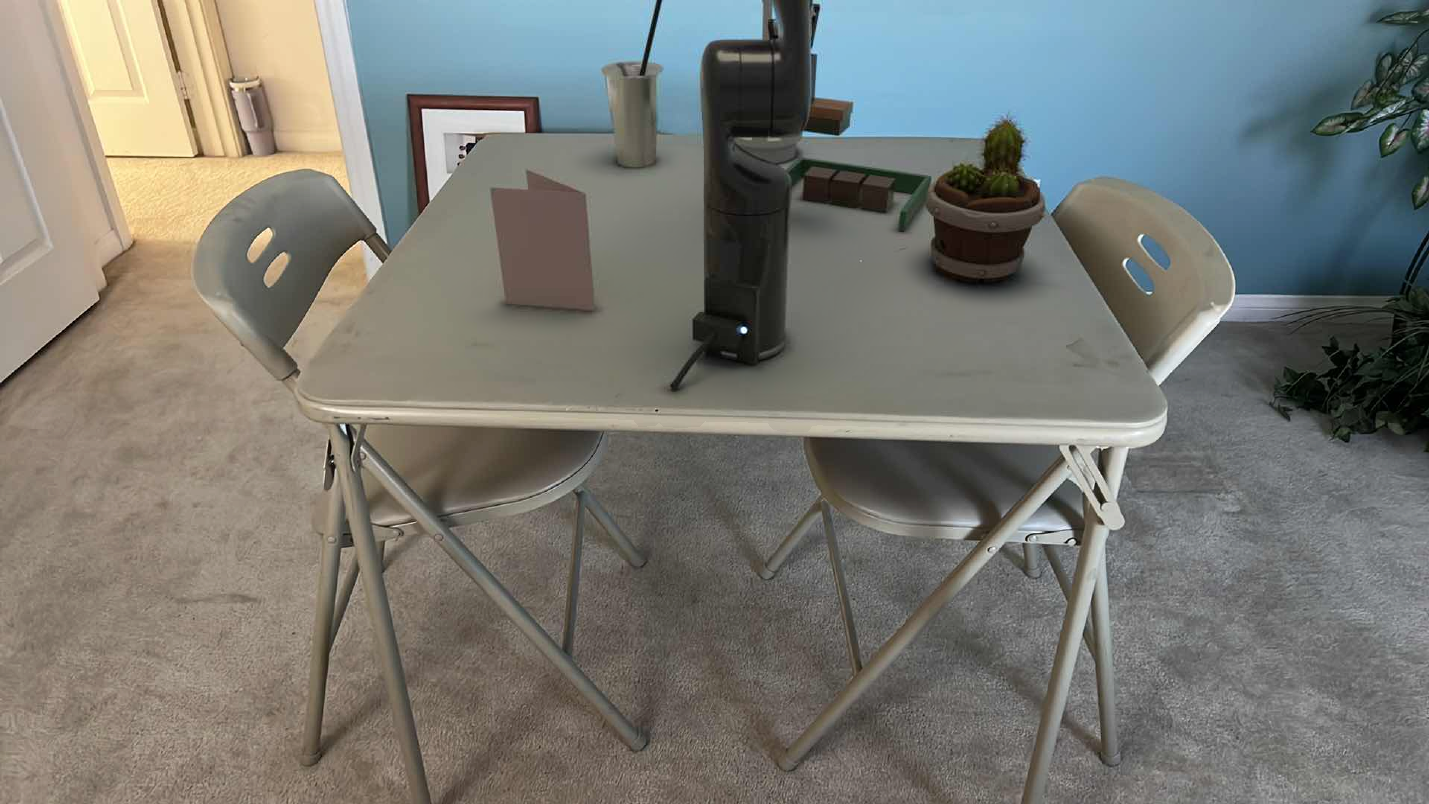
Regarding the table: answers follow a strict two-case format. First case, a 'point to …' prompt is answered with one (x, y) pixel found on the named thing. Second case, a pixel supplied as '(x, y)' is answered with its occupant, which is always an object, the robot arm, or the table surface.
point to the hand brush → (827, 110)
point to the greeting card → (544, 244)
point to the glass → (635, 104)
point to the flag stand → (769, 147)
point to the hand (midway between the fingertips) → (791, 87)
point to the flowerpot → (985, 211)
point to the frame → (903, 181)
